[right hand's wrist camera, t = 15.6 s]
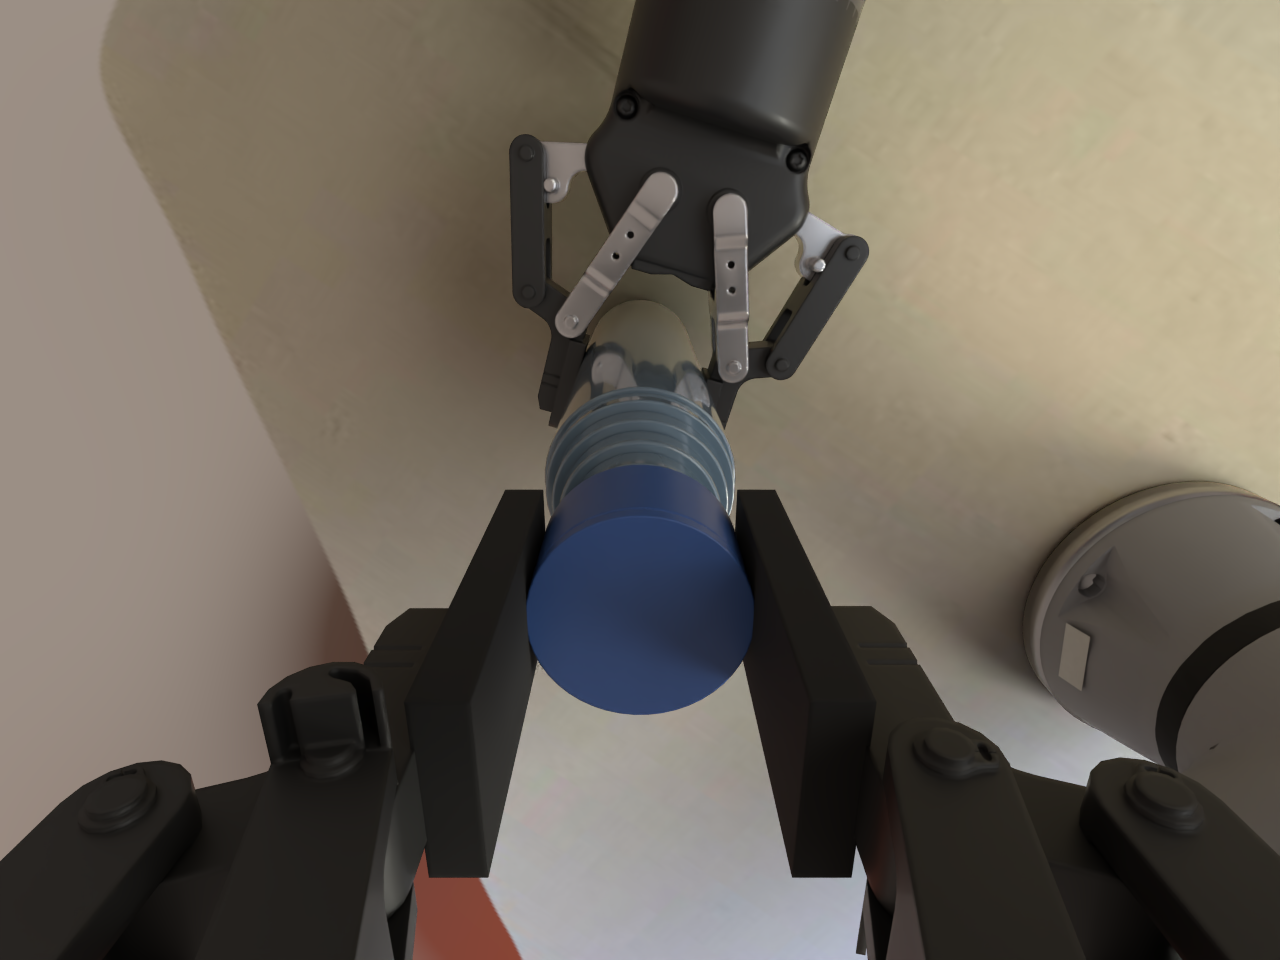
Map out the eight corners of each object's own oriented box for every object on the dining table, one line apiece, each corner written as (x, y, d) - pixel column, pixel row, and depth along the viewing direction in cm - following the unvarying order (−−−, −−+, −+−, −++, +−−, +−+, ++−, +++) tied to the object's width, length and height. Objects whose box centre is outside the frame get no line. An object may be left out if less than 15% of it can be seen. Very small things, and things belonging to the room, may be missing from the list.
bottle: (696, 305, 35) (805, 493, 12) (682, 404, 36) (755, 734, 13) (595, 293, 34) (506, 462, 12) (586, 393, 36) (493, 710, 13)
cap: (719, 445, 14) (736, 495, 11) (750, 618, 15) (770, 695, 13) (521, 484, 14) (497, 540, 12) (569, 650, 15) (556, 732, 13)
